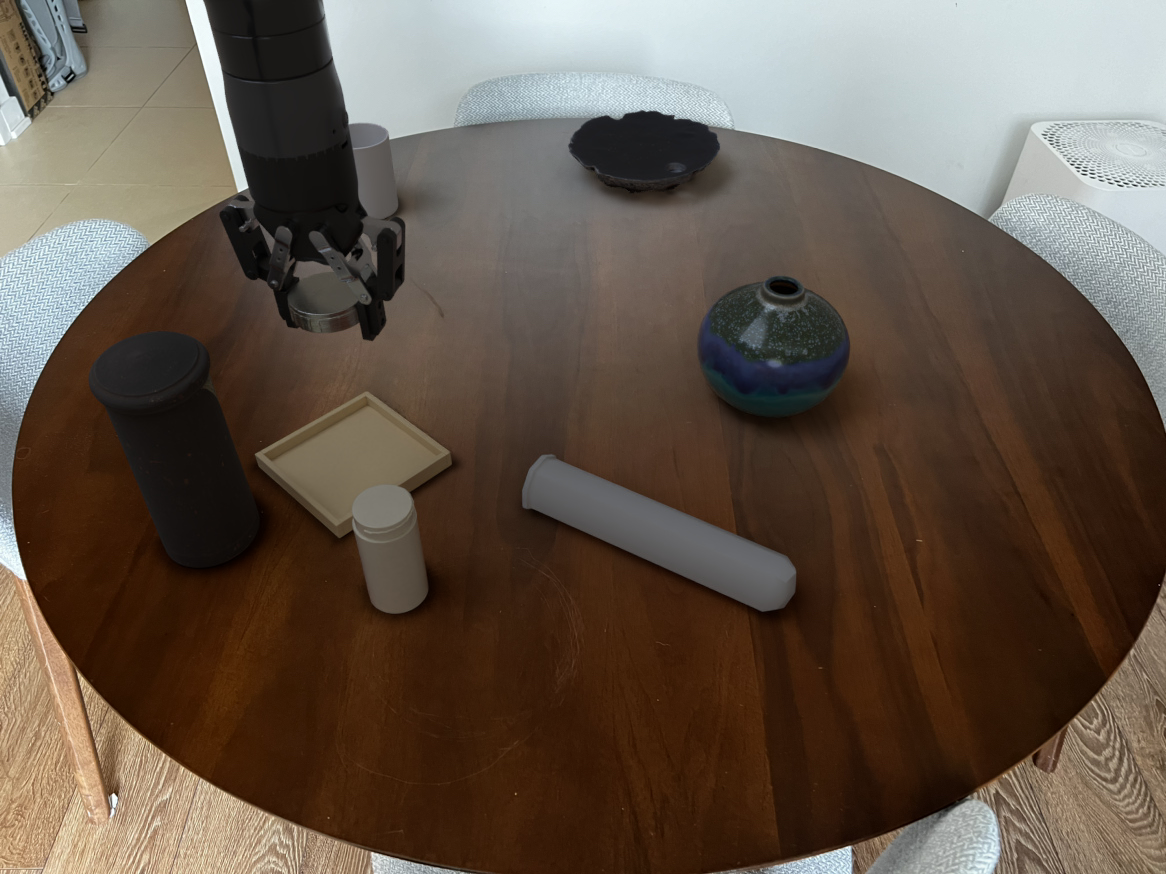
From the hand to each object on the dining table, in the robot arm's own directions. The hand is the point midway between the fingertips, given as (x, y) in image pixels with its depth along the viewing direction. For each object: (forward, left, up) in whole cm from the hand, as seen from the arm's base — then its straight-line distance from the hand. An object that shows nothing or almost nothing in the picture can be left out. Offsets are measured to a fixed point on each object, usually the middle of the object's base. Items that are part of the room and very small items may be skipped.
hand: (335, 328), depth 73 cm
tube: (+13, -24, -19) cm, 34 cm away
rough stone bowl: (+67, +24, -19) cm, 74 cm away
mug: (+33, +46, -19) cm, 59 cm away
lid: (0, 0, +3) cm, 3 cm away
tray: (+1, +4, -19) cm, 19 cm away
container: (-13, +6, -19) cm, 24 cm away
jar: (-5, -11, -19) cm, 23 cm away
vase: (+38, -18, -19) cm, 46 cm away
